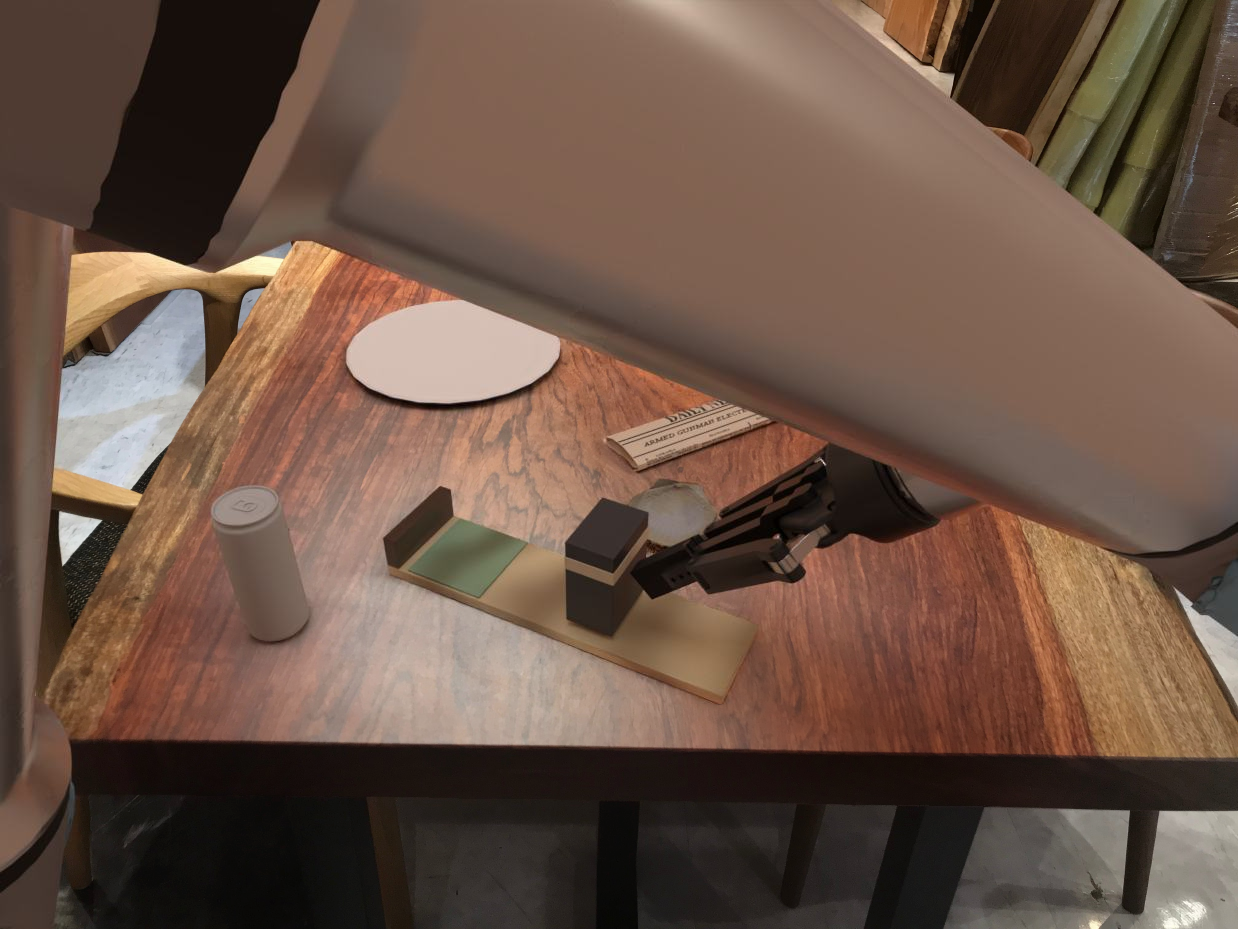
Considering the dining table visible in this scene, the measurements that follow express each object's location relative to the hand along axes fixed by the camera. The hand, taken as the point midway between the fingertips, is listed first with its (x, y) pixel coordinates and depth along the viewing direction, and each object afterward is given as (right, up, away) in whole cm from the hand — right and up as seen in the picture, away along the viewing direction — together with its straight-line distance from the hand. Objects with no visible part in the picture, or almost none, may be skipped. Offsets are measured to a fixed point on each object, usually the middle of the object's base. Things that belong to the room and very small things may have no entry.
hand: (645, 580), depth 68 cm
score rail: (-6, -3, +6) cm, 9 cm away
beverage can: (-29, -4, +3) cm, 29 cm away
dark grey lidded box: (-3, -2, +4) cm, 5 cm away
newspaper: (+8, +13, +28) cm, 32 cm away
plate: (-21, +22, +38) cm, 49 cm away
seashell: (+3, +3, +14) cm, 14 cm away
